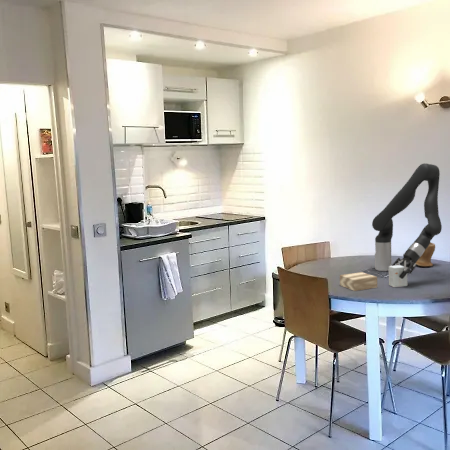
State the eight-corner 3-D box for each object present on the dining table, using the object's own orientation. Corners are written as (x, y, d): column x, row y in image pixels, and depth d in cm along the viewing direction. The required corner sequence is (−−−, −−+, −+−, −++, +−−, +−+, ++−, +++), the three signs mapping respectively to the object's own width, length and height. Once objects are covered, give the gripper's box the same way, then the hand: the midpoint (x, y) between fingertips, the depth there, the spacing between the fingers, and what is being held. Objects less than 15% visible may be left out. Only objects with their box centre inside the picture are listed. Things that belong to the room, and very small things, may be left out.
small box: (402, 283, 274) (402, 264, 272) (407, 286, 268) (407, 266, 267) (388, 285, 272) (388, 265, 271) (393, 287, 267) (393, 267, 265)
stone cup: (438, 267, 308) (438, 243, 306) (418, 268, 308) (418, 243, 306) (429, 262, 323) (429, 239, 321) (410, 263, 323) (410, 239, 321)
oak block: (339, 285, 277) (339, 275, 276) (361, 282, 282) (361, 272, 281) (354, 291, 264) (354, 280, 263) (377, 288, 268) (377, 277, 268)
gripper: (401, 246, 277) (383, 269, 275) (418, 250, 263) (399, 274, 261) (410, 255, 279) (392, 277, 277) (427, 259, 265) (408, 283, 263)
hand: (395, 276), depth 269 cm, fingers open, 8 cm apart
